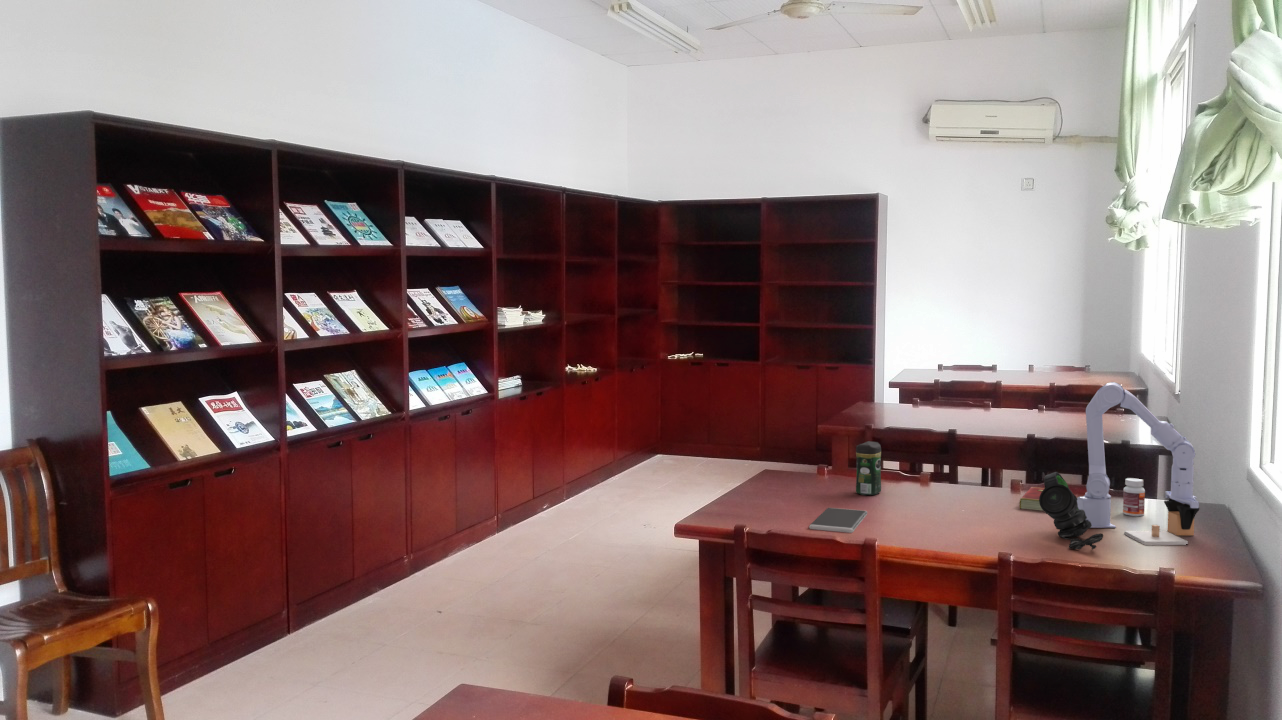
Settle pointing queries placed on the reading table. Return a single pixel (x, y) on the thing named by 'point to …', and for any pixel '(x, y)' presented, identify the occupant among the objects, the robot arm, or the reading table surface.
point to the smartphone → (838, 520)
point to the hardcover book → (1031, 499)
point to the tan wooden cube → (1177, 524)
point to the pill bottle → (1133, 497)
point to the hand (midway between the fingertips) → (1180, 526)
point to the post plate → (1155, 537)
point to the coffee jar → (868, 468)
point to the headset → (1066, 511)
